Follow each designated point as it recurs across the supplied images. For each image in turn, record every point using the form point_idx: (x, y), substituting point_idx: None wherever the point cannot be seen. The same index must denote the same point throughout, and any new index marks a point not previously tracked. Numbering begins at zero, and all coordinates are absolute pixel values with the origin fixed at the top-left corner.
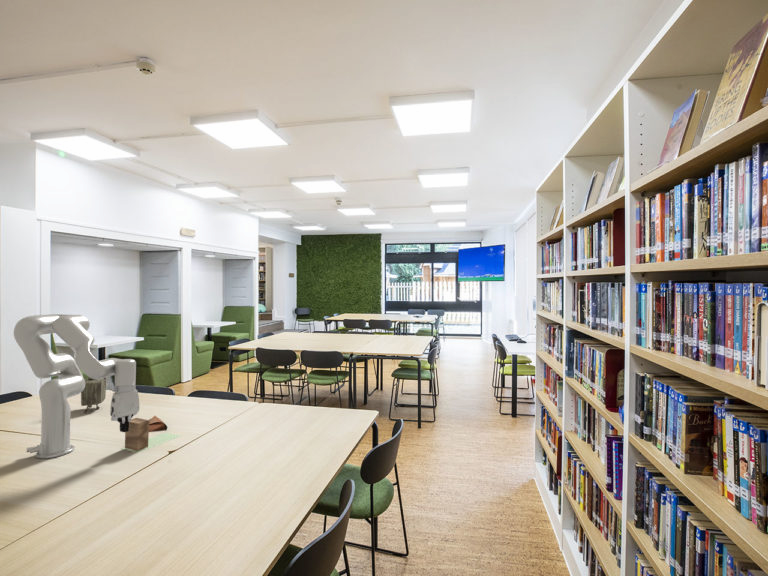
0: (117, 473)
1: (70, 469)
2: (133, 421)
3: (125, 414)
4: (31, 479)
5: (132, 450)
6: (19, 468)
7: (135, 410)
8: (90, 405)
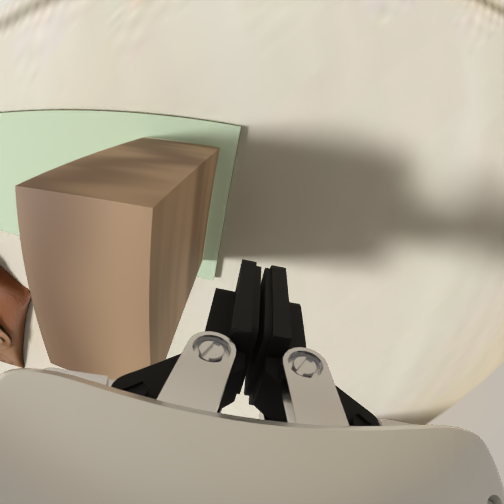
0: (477, 64)
1: (446, 303)
2: (120, 328)
3: (376, 458)
4: (491, 342)
5: (215, 191)
6: (411, 421)
7: (67, 438)
8: None
